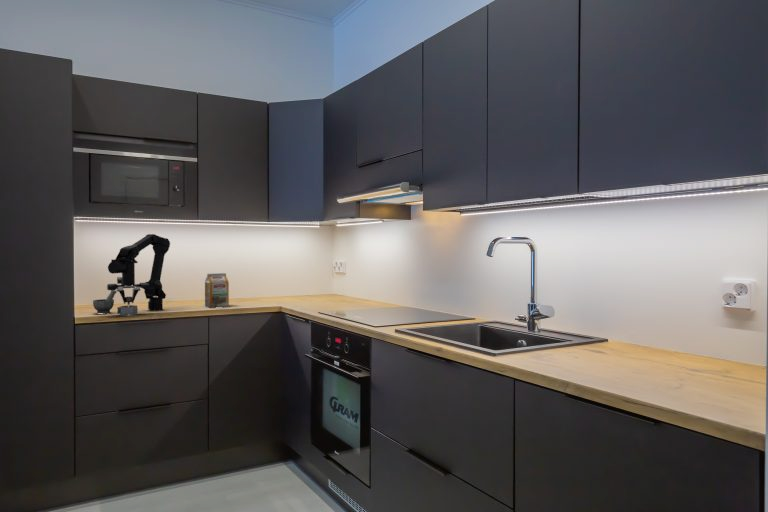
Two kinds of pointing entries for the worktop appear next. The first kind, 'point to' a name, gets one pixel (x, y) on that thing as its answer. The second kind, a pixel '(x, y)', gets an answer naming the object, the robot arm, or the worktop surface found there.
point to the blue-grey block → (127, 310)
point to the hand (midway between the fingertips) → (128, 303)
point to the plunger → (128, 300)
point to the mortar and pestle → (104, 303)
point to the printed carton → (216, 290)
